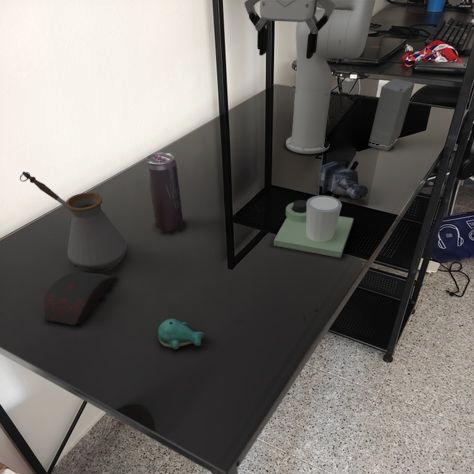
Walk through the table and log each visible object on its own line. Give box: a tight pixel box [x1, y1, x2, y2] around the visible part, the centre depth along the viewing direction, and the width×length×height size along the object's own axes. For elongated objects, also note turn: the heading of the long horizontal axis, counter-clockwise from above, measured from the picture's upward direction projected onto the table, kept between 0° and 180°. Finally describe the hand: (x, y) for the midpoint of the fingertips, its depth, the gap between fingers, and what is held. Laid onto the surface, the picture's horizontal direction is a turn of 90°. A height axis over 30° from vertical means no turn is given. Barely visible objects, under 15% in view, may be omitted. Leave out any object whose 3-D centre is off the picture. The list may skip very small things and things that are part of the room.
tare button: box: [292, 199, 307, 213], centre depth 94 cm, size 3×3×2 cm
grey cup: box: [306, 195, 343, 242], centre depth 87 cm, size 7×7×7 cm
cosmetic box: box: [368, 78, 415, 152], centre depth 120 cm, size 8×7×16 cm
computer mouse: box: [43, 271, 115, 326], centre depth 77 cm, size 8×14×4 cm, turn 165°
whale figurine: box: [157, 318, 205, 350], centre depth 69 cm, size 6×7×4 cm
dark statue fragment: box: [317, 160, 369, 201], centre depth 102 cm, size 6×13×6 cm, turn 43°
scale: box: [273, 202, 354, 259], centre depth 91 cm, size 15×14×3 cm
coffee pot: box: [19, 171, 128, 273], centre depth 83 cm, size 21×12×15 cm, turn 59°
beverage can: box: [145, 152, 184, 234], centre depth 90 cm, size 6×6×15 cm
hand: (286, 55), depth 86 cm, fingers open, 9 cm apart
